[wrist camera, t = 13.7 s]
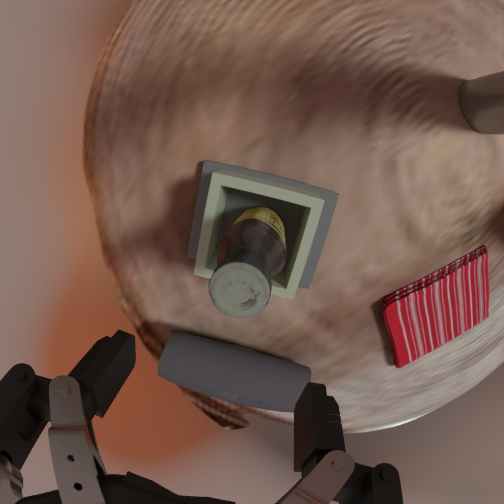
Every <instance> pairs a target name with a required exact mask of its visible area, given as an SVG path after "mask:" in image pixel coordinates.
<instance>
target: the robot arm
mask: <svg viewBox="0 0 504 504" xmlns="http://www.w3.org/2000/svg"><path fill="white" fill-rule="evenodd" d="M460 103H461V107H462V110H463V113H464V115H465V117H466V119H467V121H468V122H469V123H470V125H471V126H472V127H473V128H474V129H475V130H477V131H478V132H481V133H492V134H504V71H502V72H498V73H494V74H490V75H487V76H483V77H479V78H476V79H473V80H469V81H467V82H465V83H464V84H463V85H462V87H461V89H460ZM135 353H136V352H135V336H134V335H132V334H129V333H127V332H124V331H122V330H118V331H117V332H116V333H115V334H114V335H113V336H112V338H111V337H108V336H106V337H104V338H102V339H100V340H98V341H97V342H96V343H95V344H94V345H93V347H92V348H91V349H90V350H89V351H88V352H87V354H86V355H85V356H84V357H83V358H82V359H81V360H80V361H79V363H78V364H77V365H76V366H75V367H74V368H73V370H72V371H71V372H70V373H69V374H68V375H67V376H66V375H61V376H57V377H55V378H54V379H49V378H45V377H41V376H37V375H35V373H34V370H33V369H32V367H31V366H29V365H27V364H24V363H23V364H22V363H21V364H17V365H15V366H13V367H12V368H11V369H10V370H9V371H8V373H7V374H6V375H5V376H4V377H3V379H2V380H1V381H0V504H235V502H231V501H226V500H220V499H216V498H211V497H195V496H181V495H177V494H175V493H173V492H171V491H169V490H168V489H166V488H164V487H162V486H161V485H159V484H157V483H155V482H154V481H152V480H149V479H146V478H144V477H141V476H139V475H136V474H134V473H131V472H129V471H128V472H127V474H126V475H118V474H108V475H107V472H106V469H105V466H104V464H103V461H102V459H101V456H100V453H99V449H98V446H97V441H96V437H95V433H94V429H93V425H92V418H93V417H94V415H97V416H99V417H101V418H103V417H104V415H105V413H106V411H107V410H108V408H109V407H110V405H111V403H112V402H113V400H114V399H115V397H116V395H117V394H118V392H119V391H120V389H121V387H122V386H123V384H124V383H125V381H126V379H127V377H128V376H129V375H130V373H131V371H132V370H133V368H134V365H135V361H136V354H135ZM48 421H50V422H51V428H49V429H48V435H49V443H50V450H51V456H52V462H53V467H54V472H55V476H56V481H57V485H58V489H57V490H54V491H50V492H46V493H42V494H37V495H33V496H28V497H24V498H23V495H22V488H23V477H22V474H21V472H20V470H21V468H22V466H23V464H24V462H25V461H26V459H27V457H28V455H29V453H30V452H31V450H32V448H33V446H34V445H35V443H36V441H37V439H38V438H39V436H40V434H41V433H42V431H43V429H44V427H45V426H46V425H47V423H48ZM294 471H295V472H302V478H301V479H300V480H299V481H298V482H297V483H296V484H295V485H294V486H293V487H292V488H291V489H290V490H289V491H288V492H287V493H286V494H285V495H284V496H282V498H280V499H279V500H278V501H277V502H276V503H275V504H329V503H330V502H331V501H336V502H339V504H403V498H402V490H401V484H400V478H399V473H398V471H397V469H396V468H395V467H394V466H393V465H391V464H388V463H381V464H378V465H377V466H376V467H374V468H372V467H369V466H365V465H361V464H358V463H356V462H354V460H353V458H352V457H351V456H350V455H349V454H348V453H346V450H345V444H344V437H343V430H342V424H341V418H340V412H339V406H338V404H337V402H336V401H335V399H334V397H333V396H327V392H326V386H325V385H324V384H318V383H312V382H308V383H307V384H306V386H305V388H304V390H303V392H302V393H301V395H300V397H299V399H298V400H297V402H296V405H295V409H294Z"/></svg>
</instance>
